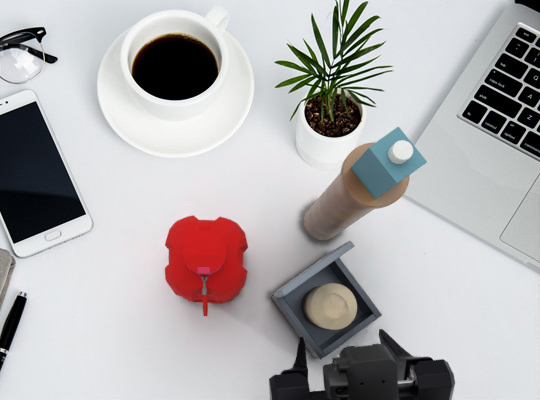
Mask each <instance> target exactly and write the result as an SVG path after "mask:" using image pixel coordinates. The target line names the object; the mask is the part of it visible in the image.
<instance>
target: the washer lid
mask: <svg viewBox="0 0 540 400" xmlns="http://www.w3.org/2000/svg"><path fill="white" fill-rule="evenodd" d="M354 247H355V245H354V242H352V241H351V240H348V241H346V242H344V243H343V244H341V245H339V246H338V247H336V248H334V249H332V250H330V252H328V253H327V254H325V255H324V256H322V257H321V258H320V259H318V260H317V261H315V262H314V263H313V264H312V265H310V266H309V267H307V268H306V269H304V270H303V271H302V272H300V273H299V274H298V275H296V276H294V277H293V278H292V279H291V280H289V281H287V282H286V283H284V284H283V285H281V286H280V287H279V288H278V289H276V290H275V291H273V292H272V295H275V297H276V298H279V297H283V296H286V295H287V294H289V293H290V292H291V291H293V290H294V289H296V288H297V287H298V286H300V285H301V284H303V283H304V282H305V281H307V280H308V279H310V278H311V277H312V276H314V275H315V274H317V273H318V272H319V271H321V270H322V269H324V268H325V267H326V266H328V265H329V264H331V263H332V262H333V261H335V260H336V259H338V258H341V257H342V256H343V255H345V254H346V253H348V252H349V251H350V250H352V249H353V248H354Z"/></svg>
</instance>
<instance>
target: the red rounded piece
mask: <svg viewBox="0 0 540 400" xmlns="http://www.w3.org/2000/svg"><path fill="white" fill-rule="evenodd" d="M164 246H165V248H166V249H167V250H168V264H167V265H166V266H165V267H164V279H165V281H166V283H167V285H168V286H169V288H170V289H171V290H172V291H173V293H174V294H175V295H176V296H178V297H182V298H183V299H185V301H188V302H191V303H192V302H193V303H202V315H203V317H205V318H206V317H208V312H209V304H226V303H228V302H231V301H232V300H234V299H235V298H236V297H237V296H238V295H239V294H240V292H241V291H242V289H243V288H245V285H246V281H247V276H248V273H249V272H248V269H246V268H245V266H244V253H245V252H246V251H247V250H248V249H249V245H248V240H247V235H246V232H245V231H244V229H243V228H242V227H241V226H240V224H239V223H237V222H236V221H234V220H232V219H230V218H227V217H223V216H219V217H217V218H215V219H199V218H198V217H196V216H195V215H188V216H185V217H183V218H180V219H178V220H176V221H175V222H174V223H173V224H172V225H171V227H169V230H168V232H167V235H166V238H165V244H164Z"/></svg>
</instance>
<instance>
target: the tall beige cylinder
mask: <svg viewBox="0 0 540 400" xmlns="http://www.w3.org/2000/svg"><path fill="white" fill-rule="evenodd" d="M376 142H377V141H376ZM376 142H375V141H374V142H367V143H363V144H360V145H358V146H357V147H355V148H354V149H352V150H351V151H350V152H349V153H348V155H347V156H346V157H345V159H344V160H343V162H342V164H341V168H340V172H339V174H338V175H337V176H336V177H335V178H334V180H332V182H331V183H329V185H328V186H327V188H326V189H325V190H324V191H323V192H322V194H321V195H320V196H319V197H318V198H317V199H316V200H315V201H314V203H313V204H312V205H311V207H310V208H308V210H307V211H306V213H305V215H304V217H303V227H304V229H305V231H306V233H307V234H308V236H310V237H312V238H313V239H315V240H317V241H328V240H331V239H332V238H334V237H335V236H337V235H339V234H340V233H341V232H343V231H344V230H346V229H348V228H349V227H350V226H352V225H354V224H355V223H356V222H358V221H359V220H360V219H362V218H364V217H365V216H366V215H368V214H370V213H371V212H373V211H374V210H376V209H384V208H387V207H389V206H391V205H393V204H394V203H396V202H398V201H399V200H400V199H401V198H402V197H403V196H404V194H405V193H406V192H407V189H408V188H409V187H408V186H409V183H410V175H409V176H407V177H406V178H405V179H403V180H402V181H401V182H399V183H398V184H396V185H395V186H394V187H392V188H391V189H389V190H388V191H387V192H385V193H384V194H382V195H381V196H379V197H378V198H377V199H374V197H373V196H372V195H371V194H370V192H369V191H368V190H367V188H366V187H365V186H364V185H363V183H362V182H361V181H360V179H359V178H358V177H357V176H356V174H355V173H354V172H353V170H352V169H351V167H352V166H353V164H354V163H355V162H356V161H357V160H358V159H359V158H360V157H361V156H362V154H363V153H364V152H365V151H366V150H367V149H368V148H369V147H370V146H371V145H373V144H374V143H376Z"/></svg>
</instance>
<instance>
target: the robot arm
mask: <svg viewBox="0 0 540 400" xmlns="http://www.w3.org/2000/svg"><path fill="white" fill-rule="evenodd" d="M378 339H379V343H372V344H371V345H369V344H368V345H359V346H358V345H357V346H355V345H347V346H345V347H342V349H340V351H339V353H338V354H339V355H338V357H332V358H331V360H332V361H331V363H326V364H323V365H322V377H323V378H322V379H323V389H322V390H310V384H309V368H308V357H307V347H306V345H305V341H304V338H303V337H299V339H298V343H297V349H296V354H295V359H294V362H293V364H292V367H291V368H289V369H282V370H281V371H280V374H273V375H271V377H269V378H268V389H269V391H268V392H269V400H453V396H454V395H453V394H454V391H455V386H456V378H455V374H454V372H453V370H452V368H451V366H450V364H449V362H448V361H447V360H445V359H443V358H442V359H433V358H432V357H431V356H416V355H412V354H411V353H410V352H408V351H407V350H405V349H404V347H402V346H401V345H400V344H399V343H398V342H397V341H396V340H395V339H394V338H393V337H392V336H390V334H389V333H388V332H386V331H385V330H384V329H383V328H379V329H378Z"/></svg>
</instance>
